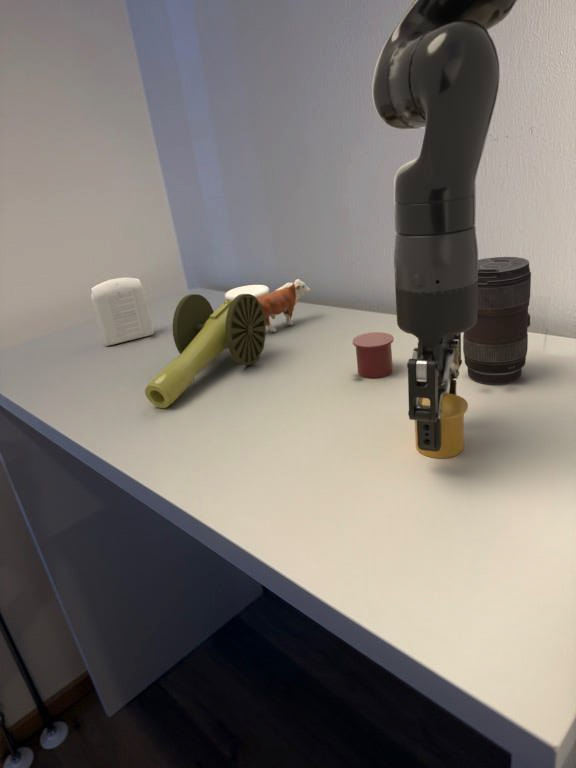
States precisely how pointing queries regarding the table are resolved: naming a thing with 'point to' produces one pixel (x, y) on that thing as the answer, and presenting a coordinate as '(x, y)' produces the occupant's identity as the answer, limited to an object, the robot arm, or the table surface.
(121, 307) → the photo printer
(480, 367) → the camera lens
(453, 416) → the gold pod
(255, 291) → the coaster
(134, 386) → the table surface
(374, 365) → the burgundy pod
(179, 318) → the cannon
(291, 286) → the bull figurine
